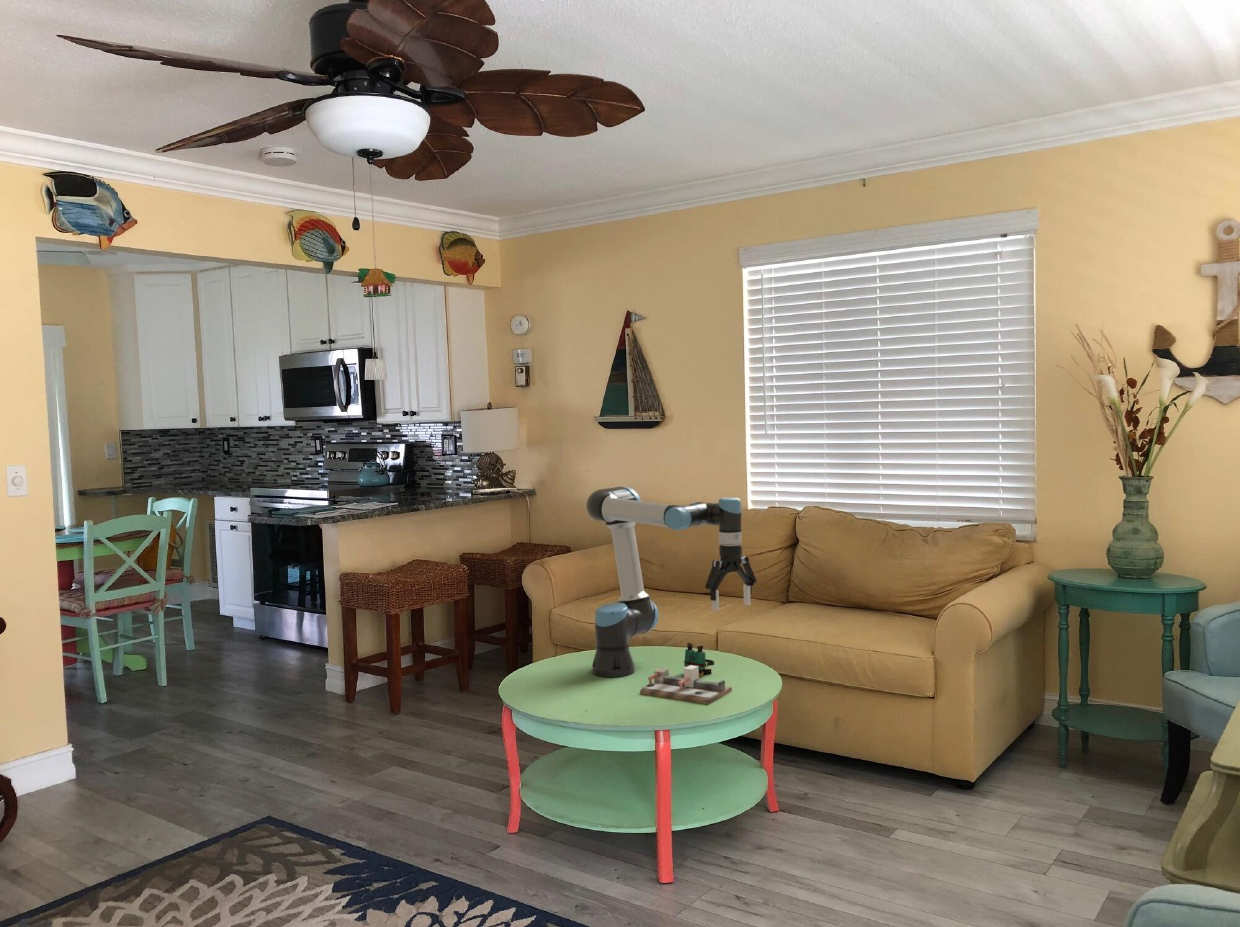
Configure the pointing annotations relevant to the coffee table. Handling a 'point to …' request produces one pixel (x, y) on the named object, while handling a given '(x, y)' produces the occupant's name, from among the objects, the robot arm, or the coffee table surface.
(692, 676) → the slider head
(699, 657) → the binoculars
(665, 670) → the gauge
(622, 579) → the robot arm
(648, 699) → the coffee table surface
